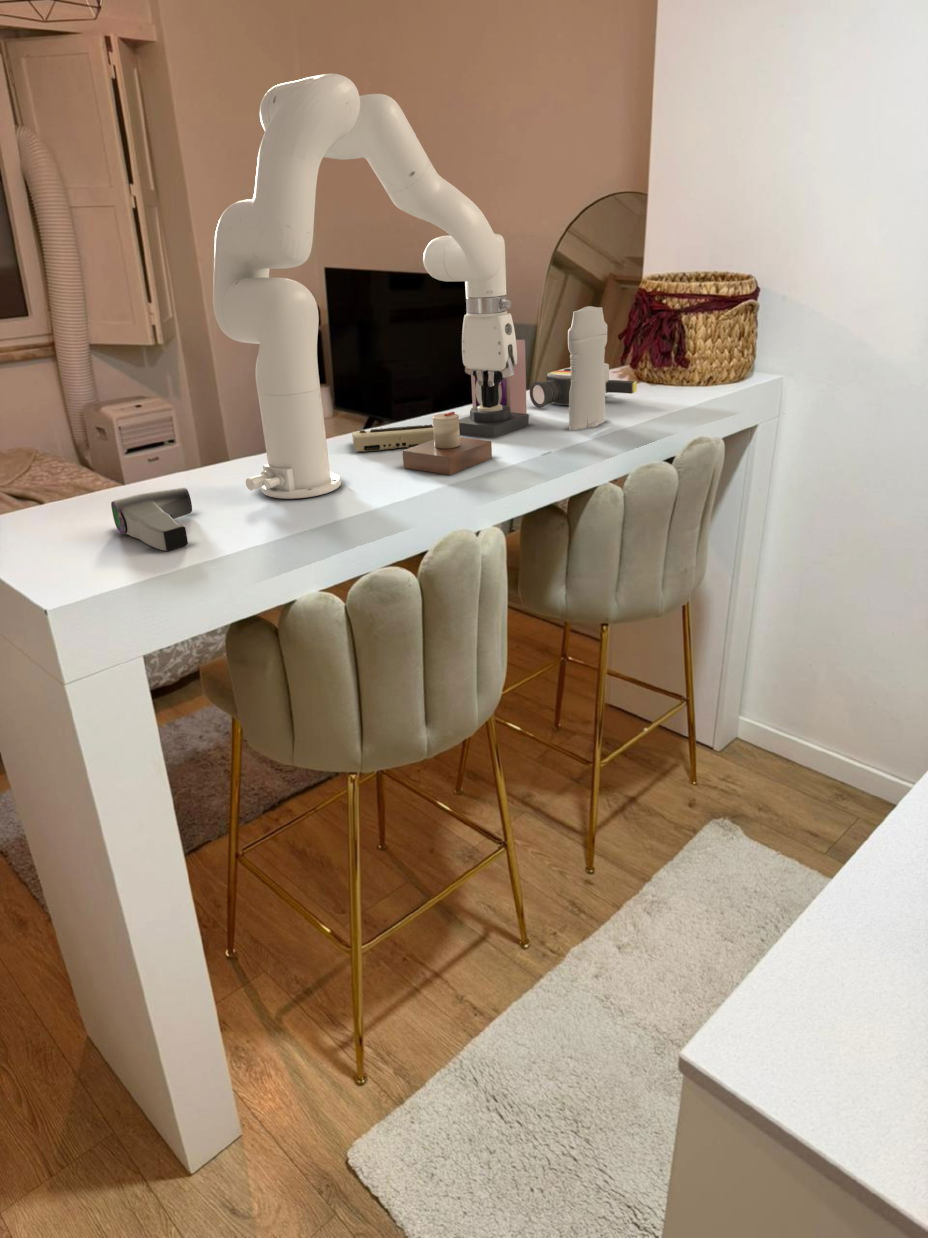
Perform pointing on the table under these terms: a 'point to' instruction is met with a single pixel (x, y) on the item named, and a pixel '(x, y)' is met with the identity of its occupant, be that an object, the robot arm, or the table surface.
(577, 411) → the tall pale column
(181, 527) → the infrared thermometer
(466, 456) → the brown flat block
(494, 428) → the grey square plinth
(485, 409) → the power button
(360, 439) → the computer
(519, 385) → the greeting card
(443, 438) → the dial
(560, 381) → the film camera
